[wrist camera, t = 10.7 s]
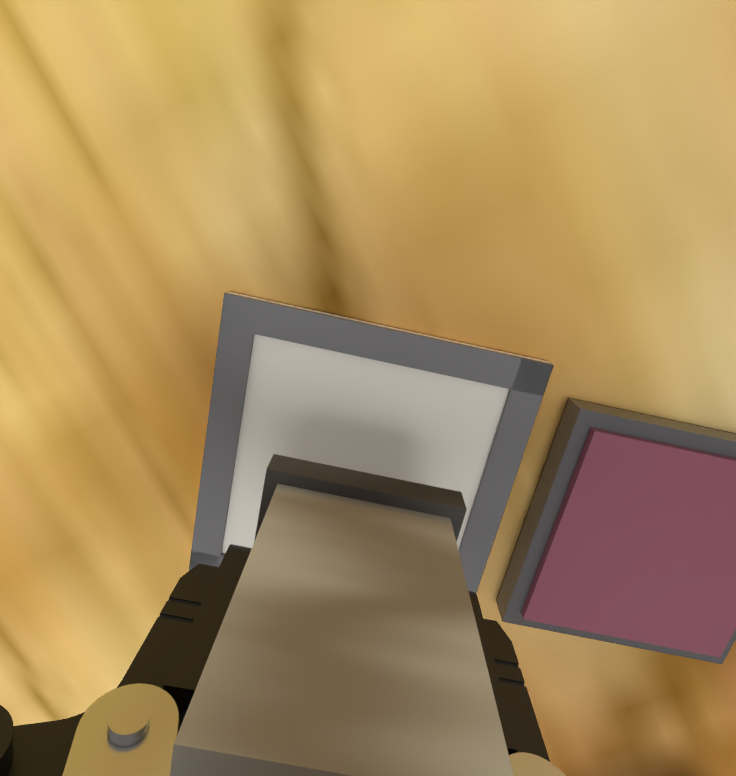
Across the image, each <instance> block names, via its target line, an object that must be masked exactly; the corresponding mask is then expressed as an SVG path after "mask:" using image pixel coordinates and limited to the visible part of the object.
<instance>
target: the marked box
mask: <svg viewBox="0 0 736 776" xmlns="http://www.w3.org/2000/svg"><path fill="white" fill-rule="evenodd" d="M553 366H554V365H552V364H551V363H550V362H549V361H545V360H540V359H535V358H531V357H526V356H522V355H517V354H513V353H508V352H503V351H499V350H494V349H490V348H485V347H481V346H476V345H471V344H467V343H462V342H458V341H453V340H449V339H444V338H439V337H435V336H430V335H426V334H421V333H417V332H412V331H407V330H403V329H398V328H394V327H389V326H385V325H380V324H375V323H371V322H366V321H362V320H357V319H353V318H348V317H343V316H339V315H334V314H330V313H325V312H321V311H316V310H311V309H307V308H302V307H298V306H293V305H289V304H284V303H279V302H275V301H270V300H266V299H261V298H257V297H252V296H247V295H243V294H238V293H234V292H227V293H224V299H223V307H222V315H221V323H220V331H219V339H218V347H217V354H216V362H215V370H214V378H213V386H212V394H211V401H210V409H209V417H208V425H207V433H206V441H205V448H204V456H203V464H202V472H201V480H200V488H199V496H198V503H197V511H196V519H195V527H194V535H193V543H192V550H191V558H190V566H189V571H190V570H191V569H193V568H194V567H195V566H197V565H198V564H199V563H200V564H205V565H210V566H215V567H219V566H220V564H221V562H222V560H223V557H224V555H225V553H226V551H227V549H228V547H229V545H230V544H233V545H238V546H243V547H248V548H252V547H253V544H254V540H255V534H256V528H257V522H258V516H259V510H260V505H261V499H262V493H263V487H264V481H265V475H266V469H267V467H268V465H269V463H270V461H271V458H272V456H273V454H277V455H282V456H287V457H292V458H296V459H301V460H306V461H311V462H316V463H321V464H326V465H331V466H336V467H341V468H346V469H351V470H356V471H361V472H366V473H370V474H375V475H380V476H385V477H390V478H395V479H400V480H405V481H410V482H415V483H420V484H425V485H430V486H435V487H440V488H444V489H449V490H454V491H459V492H461V493H462V496H463V499H464V502H465V506H466V509H467V510H466V513H465V517H464V520H463V523H462V526H461V530H460V533H459V536H458V539H457V542H456V543H457V547H458V551H459V555H460V559H461V563H462V567H463V571H464V575H465V579H466V583H467V588H468V591H472V592H475V593H476V592H477V589H478V586H479V583H480V580H481V577H482V574H483V571H484V568H485V565H486V563H487V560H488V557H489V554H490V551H491V548H492V545H493V542H494V539H495V536H496V533H497V530H498V527H499V524H500V521H501V518H502V516H503V513H504V510H505V507H506V504H507V501H508V498H509V495H510V492H511V489H512V486H513V483H514V480H515V477H516V474H517V471H518V469H519V466H520V463H521V460H522V457H523V454H524V451H525V448H526V445H527V442H528V439H529V436H530V433H531V430H532V427H533V424H534V422H535V419H536V416H537V413H538V410H539V407H540V404H541V401H542V398H543V395H544V392H545V389H546V386H547V383H548V380H549V377H550V375H551V372H552V369H553Z"/></svg>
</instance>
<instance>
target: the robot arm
mask: <svg viewBox="0 0 736 776" xmlns="http://www.w3.org/2000/svg"><path fill="white" fill-rule="evenodd" d="M251 549H252V548H248V547H243V546H238V545H233V544H230V545H229V547H228V549H227V551H226V553H225V555H224V557H223V560H222V562H221V564H220V566H219V567H215V566H210V565H205V564H200V563H199V564H198V565H197V566H195V567H194V568H193V569H191V570H190V571H189V572H187V573H186V574H185V575H183V576H182V577H181V578H180V579H179V581H178V583H177V585H176V586H175V588H174V590H173V592H172V593H171V595H170V597H169V600H168V601H167V602H166V604H165V606H164V607H163V609H162V611H161V613H160V616H159V617H158V618H157V620H156V622H155V623H154V625H153V627H152V629H151V630H150V632H149V634H148V636H147V637H146V639H145V641H144V643H143V644H142V646H141V648H140V650H139V651H138V653H137V655H136V657H135V658H134V660H133V662H132V664H131V665H130V667H129V669H128V671H127V673H126V674H125V676H124V678H123V680H122V681H121V683H120V684H119V686H118V687H117V688H116V689H113V690H111V691H109V692H108V693H106V694H104V695H103V696H101V697H100V698H98V699H97V700H96V701H95V702H94V703H93V704H92V705H91V706H90V707H89V708H88V709H87V710H86V712H84V713H82V714H79V715H77V716H74V717H70V718H67V719H62V720H57V721H50V722H42V723H35V724H27V725H19V726H13V721H12V718H11V715H10V714H9V712H8V711H7V710H6V709H5V708H4V707H2V706H1V705H0V776H170V769H171V761H172V753H173V746H174V742H175V740H176V737H177V735H178V732H179V730H180V727H181V725H182V722H183V720H184V717H185V715H186V712H187V710H188V707H189V705H190V702H191V700H192V697H193V695H194V692H195V690H196V687H197V685H198V682H199V679H200V677H201V674H202V672H203V669H204V667H205V664H206V662H207V659H208V657H209V654H210V652H211V649H212V647H213V644H214V642H215V639H216V637H217V634H218V632H219V629H220V627H221V624H222V622H223V619H224V617H225V614H226V612H227V609H228V607H229V604H230V602H231V599H232V597H233V594H234V592H235V589H236V587H237V584H238V582H239V579H240V577H241V574H242V572H243V569H244V567H245V564H246V562H247V559H248V557H249V554H250V552H251ZM468 592H469V596H470V600H471V604H472V608H473V612H474V616H475V620H476V624H477V628H478V632H479V636H480V640H481V644H482V649H483V653H484V657H485V661H486V665H487V669H488V673H489V677H490V681H491V685H492V689H493V693H494V697H495V701H496V706H497V710H498V714H499V718H500V722H501V726H502V730H503V734H504V738H505V742H506V746H507V750H508V754H509V758H510V762H511V767H512V771H513V775H514V776H566V775H565V774H564V773H563V772H562V771H561V770H560V769H558V768H557V767H556V766H555V765H554V764H552V763H551V762H550V760H549V757H548V754H547V751H546V747H545V744H544V741H543V738H542V735H541V732H540V729H539V726H538V722H537V719H536V716H535V713H534V710H533V707H532V704H531V701H530V697H529V694H528V691H527V688H526V687H524V679H523V676H522V672H521V669H520V668H518V664H519V663H518V660H517V657H516V654H515V651H514V647H513V644H512V641H511V640H510V639H509V637H508V636H507V635H506V633H505V632H504V631H503V629H502V628H501V627H500V625H499V624H498V623H497V621H493V620H488V619H483V617H482V613H481V609H480V605H479V601H478V598H477V595H476V593H475V592H472V591H468Z"/></svg>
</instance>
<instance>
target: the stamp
mask: <svg viewBox="0 0 736 776" xmlns="http://www.w3.org/2000/svg"><path fill="white" fill-rule="evenodd" d="M466 510H467V509H466V506H465V502H464V499H463V496H462V493H461V492H459V491H454V490H449V489H444V488H440V487H435V486H430V485H425V484H420V483H415V482H410V481H405V480H400V479H395V478H390V477H385V476H380V475H375V474H370V473H366V472H361V471H356V470H351V469H346V468H341V467H336V466H331V465H326V464H321V463H316V462H311V461H306V460H301V459H296V458H292V457H287V456H282V455H277V454H273V456H272V458H271V461H270V463H269V465H268V467H267V469H266V475H265V481H264V487H263V493H262V499H261V505H260V510H259V516H258V522H257V528H256V534H255V540H254V544H253V547H252V549H251V552H250V554H249V557H248V559H247V562H246V564H245V567H244V569H243V572H242V574H241V577H240V579H239V582H238V584H237V587H236V589H235V592H234V594H233V597H232V599H231V602H230V604H229V607H228V609H227V612H226V614H225V617H224V619H223V622H222V624H221V627H220V629H219V632H218V634H217V637H216V639H215V642H214V644H213V647H212V649H211V652H210V654H209V657H208V659H207V662H206V664H205V667H204V669H203V672H202V674H201V677H200V679H199V682H198V685H197V687H196V690H195V692H194V695H193V697H192V700H191V702H190V705H189V707H188V710H187V712H186V715H185V717H184V720H183V722H182V725H181V727H180V730H179V732H178V735H177V737H176V740H175V742H174V746H173V753H172V761H171V769H170V776H514V775H513V771H512V767H511V762H510V758H509V754H508V750H507V746H506V742H505V738H504V734H503V730H502V726H501V722H500V718H499V714H498V710H497V706H496V701H495V697H494V693H493V689H492V685H491V681H490V677H489V673H488V669H487V665H486V661H485V657H484V653H483V649H482V644H481V640H480V636H479V632H478V628H477V624H476V620H475V616H474V612H473V608H472V604H471V600H470V596H469V592H468V588H467V583H466V579H465V575H464V571H463V567H462V563H461V559H460V555H459V551H458V547H457V543H456V542H457V539H458V536H459V533H460V530H461V526H462V523H463V520H464V517H465V513H466Z"/></svg>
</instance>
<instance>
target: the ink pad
mask: <svg viewBox="0 0 736 776" xmlns="http://www.w3.org/2000/svg"><path fill="white" fill-rule="evenodd" d="M496 602H497V606H498V609H499V612H500V615H501V618H502V621H503V622H508V623H513V624H518V625H523V626H529V627H534V628H539V629H544V630H549V631H554V632H559V633H564V634H569V635H575V636H580V637H585V638H590V639H595V640H600V641H605V642H610V643H616V644H621V645H626V646H631V647H636V648H641V649H646V650H651V651H657V652H662V653H667V654H672V655H677V656H682V657H687V658H692V659H698V660H703V661H708V662H713V663H718V664H722V663H723V661H724V660H725V658H726V656H727V654H728V652H729V651H730V649H731V647H732V645H733V643H734V641H735V640H736V434H734V433H729V432H725V431H720V430H715V429H711V428H706V427H701V426H697V425H692V424H687V423H683V422H678V421H674V420H669V419H664V418H660V417H655V416H650V415H646V414H641V413H637V412H632V411H627V410H623V409H618V408H613V407H609V406H604V405H599V404H595V403H590V402H586V401H581V400H576V399H572V398H568V401H567V404H566V407H565V409H564V412H563V415H562V418H561V421H560V423H559V426H558V429H557V432H556V435H555V437H554V440H553V443H552V446H551V449H550V451H549V454H548V457H547V460H546V463H545V465H544V468H543V471H542V474H541V477H540V479H539V482H538V485H537V488H536V491H535V493H534V496H533V499H532V502H531V505H530V507H529V510H528V513H527V516H526V519H525V521H524V524H523V527H522V530H521V533H520V535H519V538H518V541H517V544H516V547H515V549H514V552H513V555H512V558H511V561H510V563H509V566H508V569H507V572H506V575H505V577H504V580H503V583H502V586H501V589H500V591H499V594H498V597H497V600H496Z"/></svg>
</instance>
